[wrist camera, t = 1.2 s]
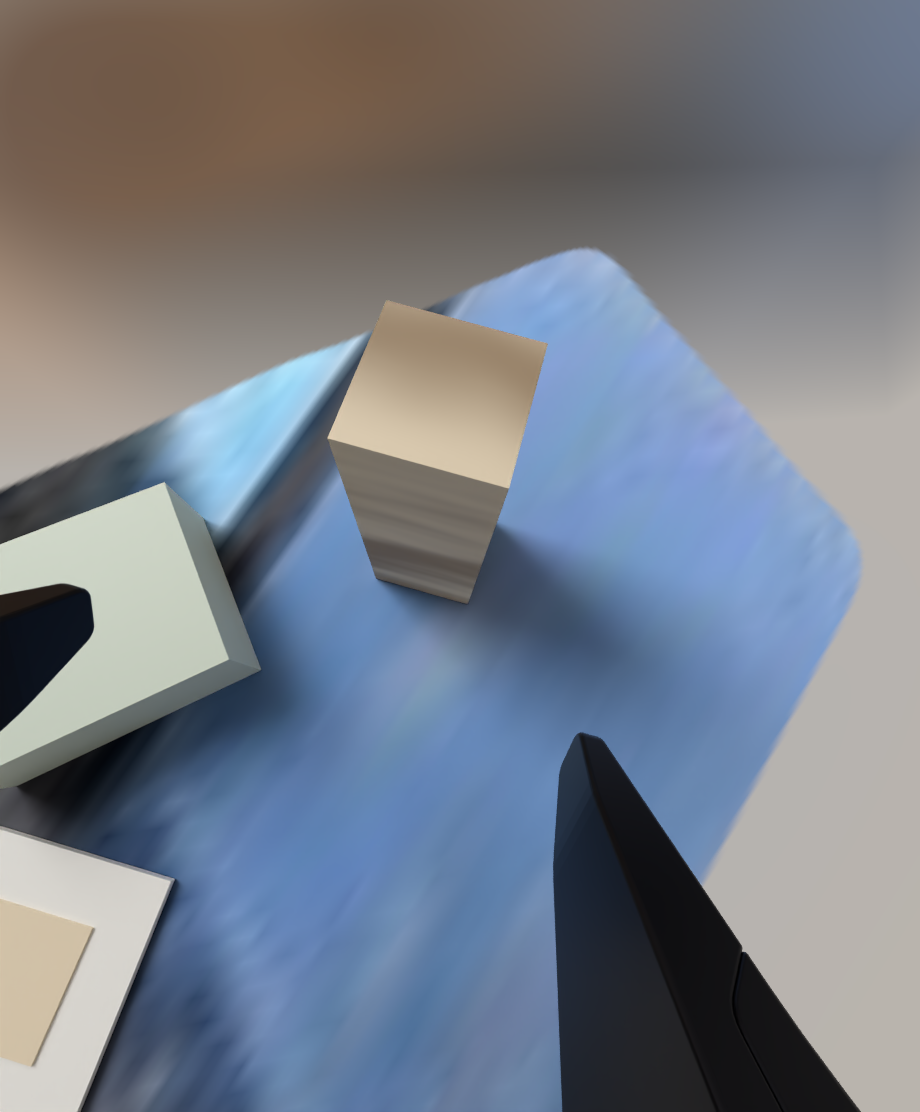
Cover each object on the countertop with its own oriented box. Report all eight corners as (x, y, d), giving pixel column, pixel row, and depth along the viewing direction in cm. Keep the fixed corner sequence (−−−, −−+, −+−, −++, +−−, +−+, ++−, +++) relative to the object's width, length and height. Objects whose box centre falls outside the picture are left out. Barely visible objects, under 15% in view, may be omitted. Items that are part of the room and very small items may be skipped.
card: (63, 1153, 16) (55, 1163, 16) (-163, 1080, 16) (-177, 1088, 16) (175, 879, 19) (169, 882, 18) (-22, 819, 19) (-31, 821, 18)
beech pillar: (467, 604, 23) (508, 488, 12) (376, 578, 23) (327, 438, 12) (490, 519, 24) (547, 343, 13) (404, 495, 24) (386, 300, 13)
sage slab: (22, 785, 20) (-74, 800, 16) (-17, 610, 22) (-111, 586, 18) (263, 670, 22) (229, 659, 18) (206, 520, 24) (164, 482, 20)
